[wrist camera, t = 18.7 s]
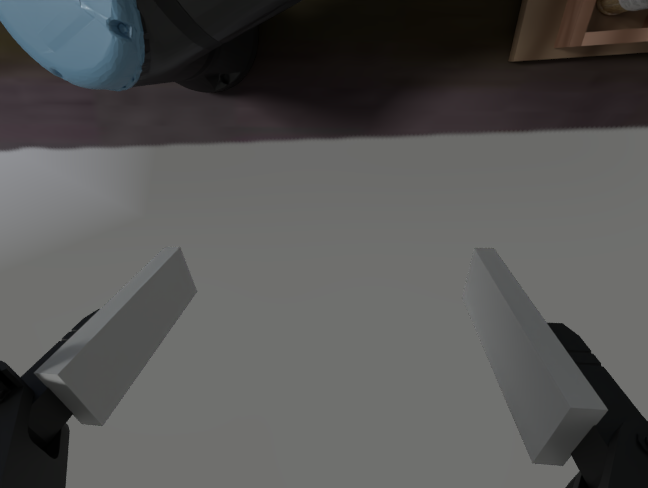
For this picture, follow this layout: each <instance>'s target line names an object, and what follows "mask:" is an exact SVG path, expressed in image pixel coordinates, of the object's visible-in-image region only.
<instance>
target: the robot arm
mask: <svg viewBox="0 0 648 488" xmlns="http://www.w3.org/2000/svg"><path fill="white" fill-rule="evenodd" d="M300 1H302V0H0V21H1V22H2V24H3V25H4V26H5V28H6V29H7V30H8V32H9V33H10V34H11V35H12V37H13V38H14V39H15V40H16V41H17V43H18V44H19V45H20V46H21V47H22V48H23V49H24V50H25V51H26V52H27V53H28V54H29V55H30V56H31V57H32V58H33V59H34V60H35V61H37V62H38V63H39V64H40V65H41V66H43V67H44V68H45V69H47V70H48V71H50V72H51V73H53V74H54V75H56V76H58V77H61V78H63V79H64V80H67V81H69V82H70V83H72V84H74V85H76V86H79V87H84V88H88V89H108V90H114V91H121V90H127V89H129V88H131V87H137V86H145V85H153V84H160V83H168V82H176V83H178V84H180V85H181V86H183V87H186V88H188V89H191V90H194V91H199V92H217V91H221V90H225V89H228V88H231V87H233V86H234V85H236V84H237V83H239V82H240V81H241V80H242V79H243V78H244V77H245V76H246V74H247V73H248V72H249V70H250V68H251V66H252V64H253V62H254V59H255V56H256V52H257V48H258V39H259V29H258V25H259V24H261V23H263V22H265V21H266V20H268V19H270V18H272V17H274V16H275V15H277V14H279V13H281V12H282V11H284V10H286V9H288V8H290V7H291V6H293V5H295V4H297V3H298V2H300ZM196 293H197V290H196V287H195V285H194V282H193V280H192V277H191V274H190V272H189V269H188V266H187V264H186V261H185V258H184V256H183V253H182V251H181V248H180V247H165V248H163V249H162V250H161V251H160V252H159V253H158V254H157V255H156V256H155V257H154V258H153V259H152V260H151V261H150V262H149V263H148V264H147V265H146V266H145V267H144V268H143V269H142V270H140V272H138V273H137V274H136V275H135V276H134V277H133V278H132V279H131V280H130V281H129V282H128V283H127V284H126V285H125V286H124V287H123V288H122V289H121V290H120V291H119V292H118V293H116V294H115V295H114V296H113V297H112V298H111V299H110V300H109V301H108V302H107V303H106V304H105V305H104V306H103V307H102V308H101V309H98V310H96V311H95V312H93V313H92V314H90V315H88V316H87V317H85V318H84V319H82V320H81V321H80V322H79V323H78V324H77V325H76V326H75V327H74V328H73V329H72V331H71V332H69V333H67V334H66V335H65V336H64V337H63V338H62V341H59V342H58V343H57V344H56V345H55V346H54V347H53V348H51V349H50V350H49V351H48V352H47V353H46V354H45V355H44V356H43V357H42V358H41V359H40V360H39V361H38V362H36V363H35V364H34V365H33V366H32V367H31V368H30V369H29V370H28V371H27V372H26V373H25V374H24V375H23V376H21V377H19V376H18V375H17V374H16V373H15V372H14V371H13V370H12V369H11V368H10V367H9V366H8V365H7V364H6V363H5V362H3V361H0V488H65V486H66V472H67V459H68V445H69V427H68V425H67V424H66V422H67V421H68V419H69V418H70V417H71V416H72V415H74V416H75V417H76V418H77V419H78V421H80V423H81V424H87V425H98V426H103V425H104V423H105V422H106V420H107V419H108V418H109V416H110V415H111V413H112V412H113V410H114V409H115V408H116V406H117V405H118V403H119V402H120V401H121V399H122V398H123V396H124V395H125V393H126V392H127V391H128V389H129V388H130V386H131V385H132V383H133V382H134V381H135V379H136V378H137V376H138V375H139V374H140V372H141V371H142V369H143V368H144V366H145V365H146V364H147V362H148V360H149V359H150V358H151V356H152V355H153V353H154V352H155V351H156V349H157V348H158V347H159V345H160V344H161V342H162V341H163V339H164V338H165V337H166V335H167V334H168V332H169V331H170V329H171V328H172V327H173V325H174V324H175V322H176V321H177V320H178V318H179V317H180V315H181V314H182V312H183V311H184V310H185V308H186V307H187V305H188V304H189V302H190V301H191V300H192V298H193V297H194V295H195V294H196ZM462 299H463V301H464V304H465V306H466V308H467V311H468V313H469V315H470V318H471V320H472V322H473V324H474V327H475V329H476V332H477V334H478V337H479V339H480V341H481V344H482V346H483V348H484V351H485V353H486V355H487V358H488V360H489V362H490V365H491V367H492V369H493V371H494V374H495V376H496V379H497V381H498V383H499V386H500V388H501V391H502V393H503V395H504V397H505V400H506V402H507V405H508V407H509V409H510V412H511V414H512V416H513V419H514V421H515V423H516V426H517V428H518V430H519V433H520V435H521V437H522V440H523V442H524V444H525V447H526V449H527V451H528V454H529V456H530V458H531V461H532V463H535V464H547V465H559V466H563V465H564V464H565V463H566V461H567V460H568V459H569V458H570V456H571V455H572V457H573V459H574V461H575V463H576V465H577V467H578V468H579V470H580V471H579V473H578V474H577V475H576V476H575V477H574V478H573V479H572V480H571V481H570V483H569V484H568V485H567V487H566V488H648V421H646V419H645V418H644V417H643V416H642V415H641V414H640V412H639V411H638V410H637V408H636V407H635V406H634V405H633V404H632V402H631V401H630V399H629V398H628V397H627V396H626V394H625V393H624V392H623V391H622V389H621V388H620V387H619V386H618V384H617V383H616V382H615V381H614V379H613V378H612V377H611V375H610V374H609V373H608V372H607V370H606V369H605V368H604V367H602V366H601V363H600V362H599V360H598V359H597V358H596V357H595V355H594V354H591V350H590V349H589V348H588V346H587V345H586V344H585V343H584V341H583V340H582V339H581V338H580V336H579V335H577V334H576V333H575V332H573V331H572V330H570V329H569V328H568V327H566V326H565V325H564V324H562V323H546V321H545V320H544V318H543V317H542V316H541V314H540V313H539V311H538V310H537V309H536V307H535V306H534V304H533V303H532V301H531V300H530V299H529V297H528V296H527V294H526V293H525V292H524V290H523V289H522V287H521V286H520V284H519V283H518V282H517V280H516V279H515V277H514V276H513V275H512V273H511V272H510V270H509V269H508V267H507V266H506V265H505V263H504V262H503V260H502V259H501V258H500V256H499V255H498V254H497V252H496V251H495V249H494V248H474V252H473V256H472V260H471V264H470V268H469V273H468V276H467V280H466V284H465V288H464V292H463V297H462Z"/></svg>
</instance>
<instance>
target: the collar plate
mask: <svg viewBox="0 0 648 488" xmlns="http://www.w3.org/2000/svg"><path fill="white" fill-rule="evenodd" d="M646 52H648V9H643V10H637V11H626V12H623V13H620V14H617V15H610V16H609V15H605V14H603V13H601V12H600V11H599V9H598V8H597V4H596V0H522V3H521V8H520V12H519V16H518V21H517V25H516V29H515V34H514V38H513V43H512V47H511V51H510V56H509V60H508V61H511V62H514V61H529V60H543V59H558V58H573V57H587V56H602V55H616V54H631V53H646Z"/></svg>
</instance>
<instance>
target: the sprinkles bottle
mask: <svg viewBox="0 0 648 488" xmlns="http://www.w3.org/2000/svg"><path fill="white" fill-rule="evenodd" d="M596 4H597V8H598V9H599V11H600V12H601V13H603V14H605V15H609V16H610V15H617V14H620V13H623V12H626V11H637V10H643V9H648V0H596Z"/></svg>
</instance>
